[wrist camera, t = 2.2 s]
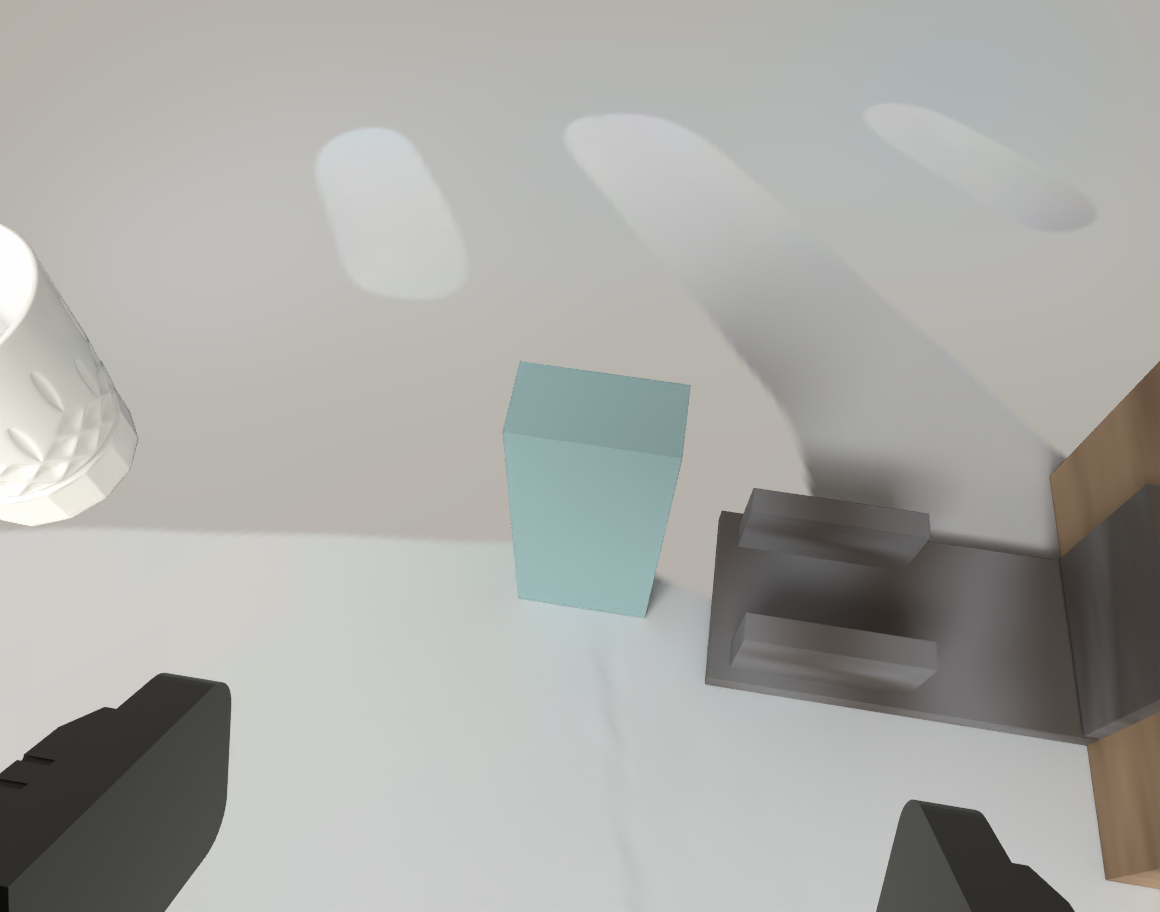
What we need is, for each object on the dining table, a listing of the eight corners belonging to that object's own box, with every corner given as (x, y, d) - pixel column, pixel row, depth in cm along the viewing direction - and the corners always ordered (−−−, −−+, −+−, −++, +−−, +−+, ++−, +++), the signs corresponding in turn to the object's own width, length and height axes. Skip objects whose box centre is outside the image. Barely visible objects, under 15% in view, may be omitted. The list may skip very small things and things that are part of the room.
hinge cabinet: (1250, 495, 38) (1611, 235, 25) (1371, 941, 29) (2026, 899, 16) (727, 420, 39) (811, 138, 26) (693, 825, 31) (794, 701, 18)
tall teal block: (654, 540, 36) (693, 360, 26) (644, 618, 34) (681, 458, 24) (534, 521, 37) (525, 337, 26) (518, 598, 35) (502, 432, 25)
